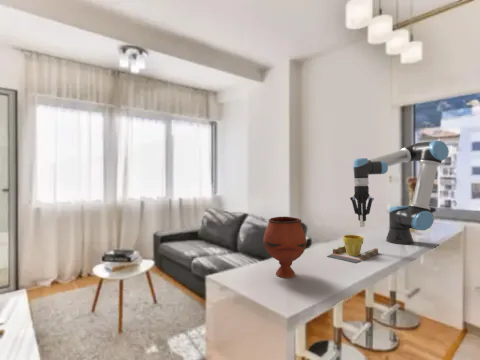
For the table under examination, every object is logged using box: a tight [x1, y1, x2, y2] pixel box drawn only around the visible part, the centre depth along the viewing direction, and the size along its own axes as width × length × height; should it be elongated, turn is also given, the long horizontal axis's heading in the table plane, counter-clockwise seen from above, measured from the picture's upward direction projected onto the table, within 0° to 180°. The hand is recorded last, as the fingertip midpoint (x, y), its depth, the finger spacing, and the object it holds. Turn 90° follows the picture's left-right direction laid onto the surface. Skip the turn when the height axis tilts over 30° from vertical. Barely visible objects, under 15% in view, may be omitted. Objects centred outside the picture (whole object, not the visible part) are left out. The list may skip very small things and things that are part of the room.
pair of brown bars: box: [332, 244, 379, 261], centre depth 162 cm, size 19×17×3 cm
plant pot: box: [342, 234, 364, 257], centre depth 160 cm, size 10×10×10 cm
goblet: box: [262, 216, 307, 279], centre depth 130 cm, size 19×19×25 cm
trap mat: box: [326, 253, 362, 264], centre depth 153 cm, size 6×16×1 cm, turn 43°
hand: (362, 226), depth 167 cm, fingers closed
